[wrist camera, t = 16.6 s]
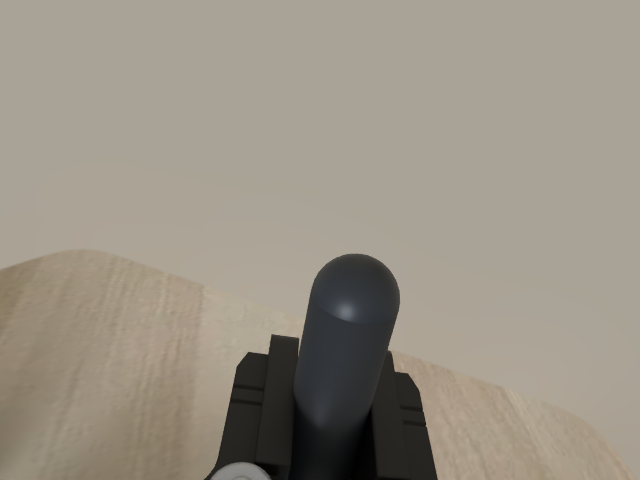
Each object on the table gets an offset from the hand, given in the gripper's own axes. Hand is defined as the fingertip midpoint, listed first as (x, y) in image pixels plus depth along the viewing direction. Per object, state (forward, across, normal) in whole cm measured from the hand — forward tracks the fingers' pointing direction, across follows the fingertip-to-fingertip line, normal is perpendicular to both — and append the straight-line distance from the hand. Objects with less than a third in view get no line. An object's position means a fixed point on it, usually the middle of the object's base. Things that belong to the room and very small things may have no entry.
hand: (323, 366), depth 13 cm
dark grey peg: (-3, 0, +8) cm, 9 cm away
